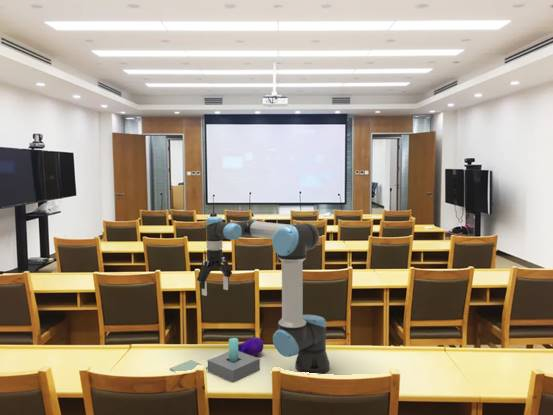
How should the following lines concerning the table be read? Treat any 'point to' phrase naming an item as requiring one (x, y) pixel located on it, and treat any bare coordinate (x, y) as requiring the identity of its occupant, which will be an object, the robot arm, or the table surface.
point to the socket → (233, 366)
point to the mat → (186, 366)
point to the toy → (251, 346)
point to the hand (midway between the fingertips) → (215, 292)
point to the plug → (233, 350)
